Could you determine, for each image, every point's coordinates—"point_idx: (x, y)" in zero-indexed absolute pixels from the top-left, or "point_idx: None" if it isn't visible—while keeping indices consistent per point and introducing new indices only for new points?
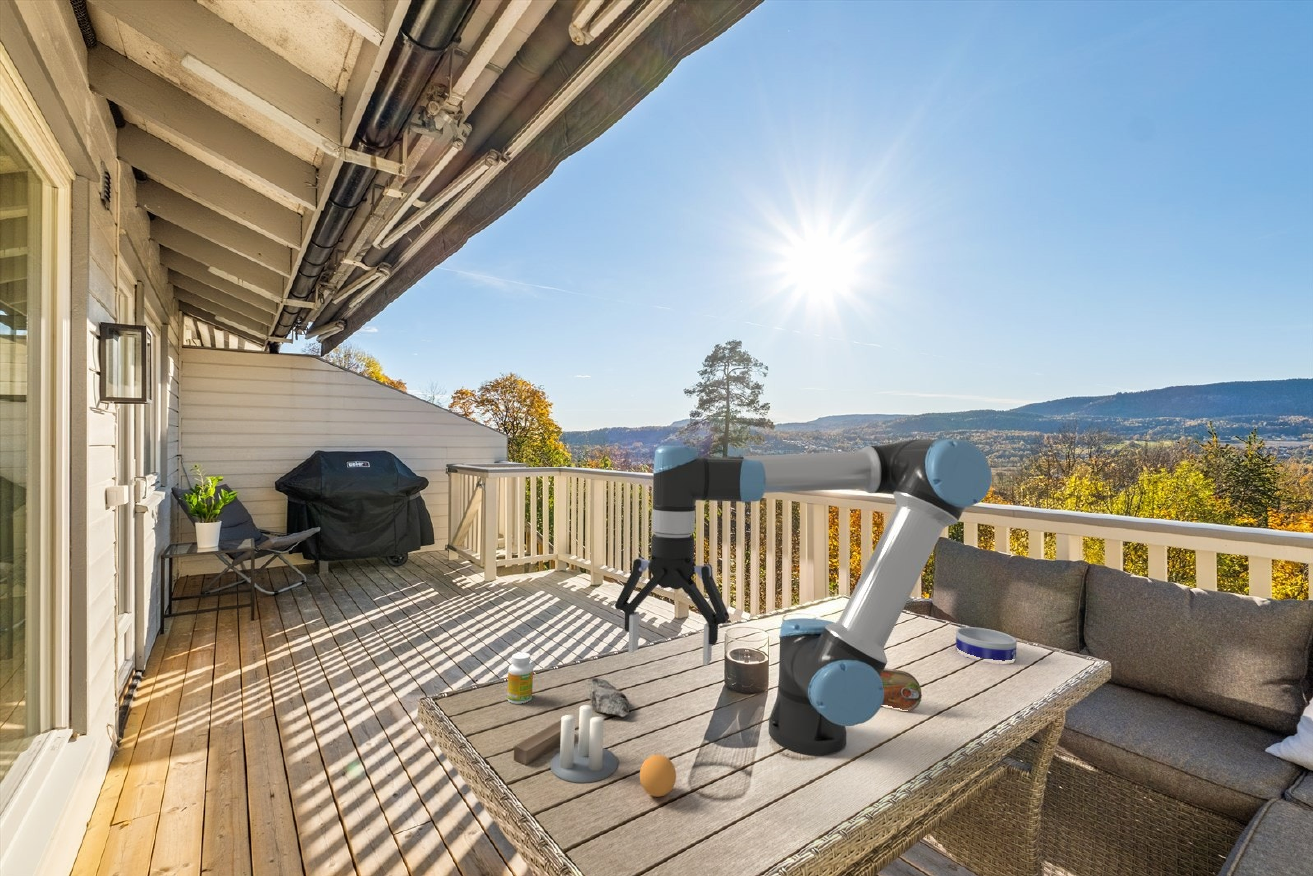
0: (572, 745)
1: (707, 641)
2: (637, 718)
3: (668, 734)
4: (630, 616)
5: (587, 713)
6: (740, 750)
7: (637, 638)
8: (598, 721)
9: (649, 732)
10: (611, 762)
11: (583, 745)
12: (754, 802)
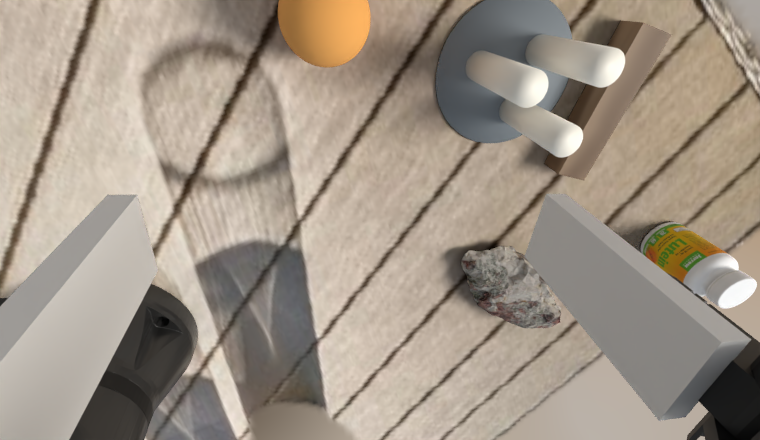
0: (553, 53)
1: (16, 293)
2: (441, 264)
3: (371, 238)
4: (736, 333)
5: (557, 126)
6: (218, 240)
7: (556, 279)
8: (525, 80)
9: (407, 230)
10: (451, 96)
11: None
12: (104, 64)
